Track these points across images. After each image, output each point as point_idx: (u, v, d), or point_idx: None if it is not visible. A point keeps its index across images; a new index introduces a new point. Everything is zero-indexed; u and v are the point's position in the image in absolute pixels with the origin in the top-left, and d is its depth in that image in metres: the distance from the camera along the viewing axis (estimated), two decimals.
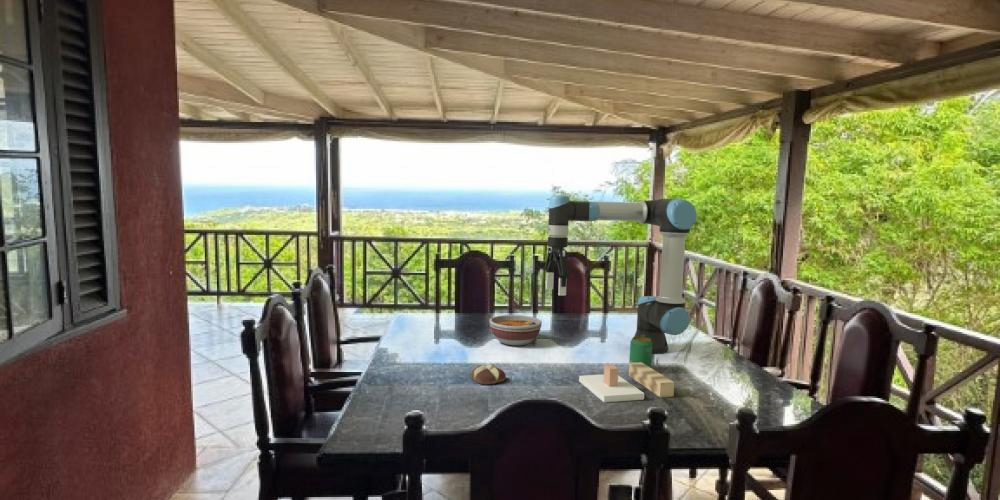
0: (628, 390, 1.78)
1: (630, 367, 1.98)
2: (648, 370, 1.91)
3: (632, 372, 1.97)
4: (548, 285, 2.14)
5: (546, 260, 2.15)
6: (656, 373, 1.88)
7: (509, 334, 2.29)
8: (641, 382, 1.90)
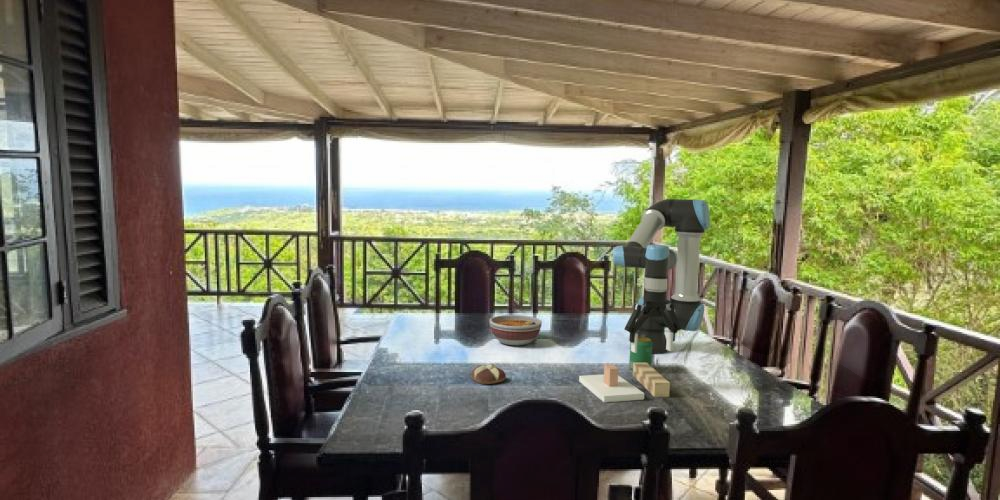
0: (628, 390, 1.78)
1: (634, 367, 1.99)
2: (648, 370, 1.91)
3: (635, 372, 1.97)
4: (667, 345, 1.90)
5: None
6: (656, 373, 1.88)
7: (509, 334, 2.29)
8: (641, 382, 1.91)
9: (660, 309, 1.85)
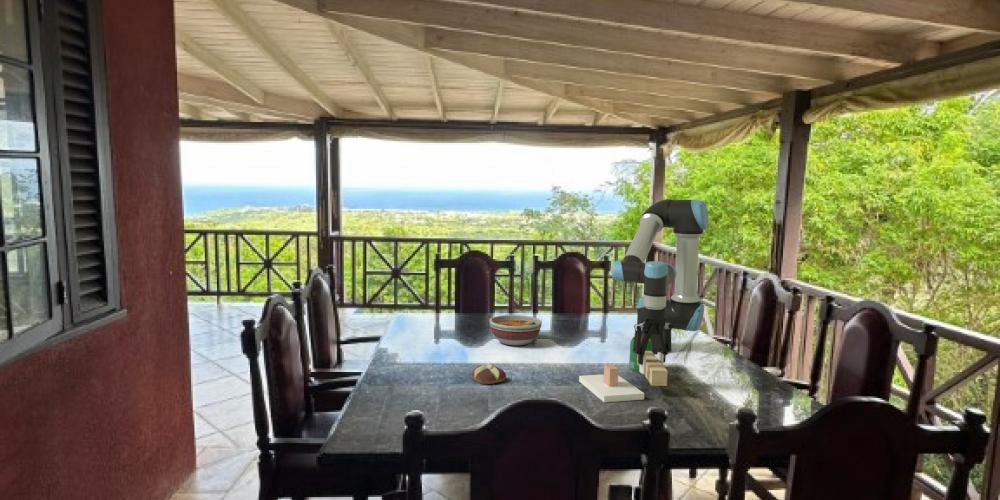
0: (628, 390, 1.78)
1: None
2: (650, 358, 1.91)
3: None
4: None
5: None
6: (656, 361, 1.88)
7: (509, 334, 2.29)
8: None
9: (659, 326, 1.86)
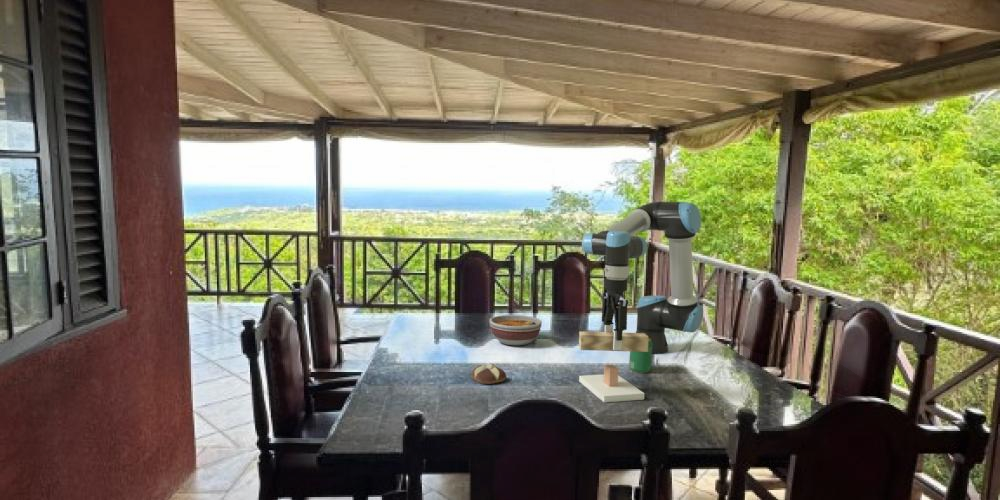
0: (628, 390, 1.78)
1: (584, 339, 1.80)
2: (607, 333, 1.82)
3: (589, 343, 1.80)
4: None
5: (602, 309, 1.87)
6: None
7: (509, 334, 2.29)
8: (610, 347, 1.80)
9: None
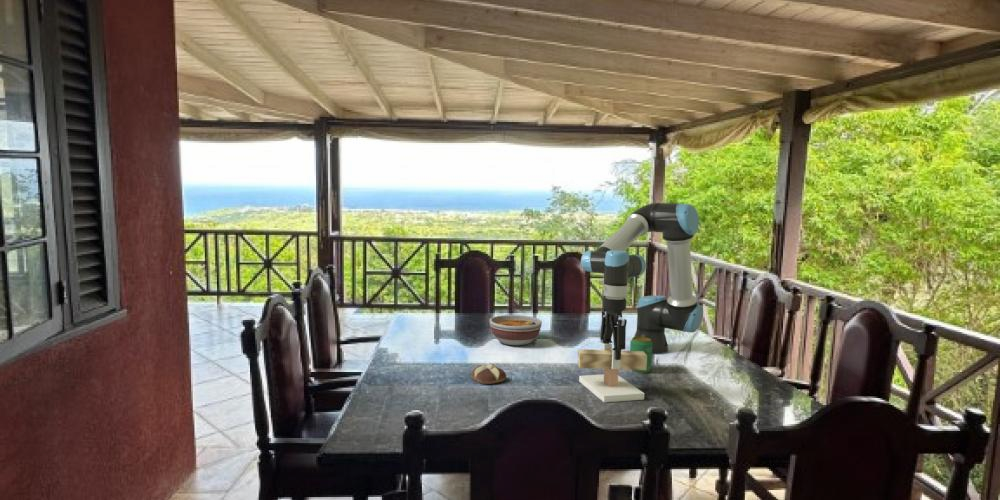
0: (628, 390, 1.78)
1: (583, 357, 1.80)
2: (606, 352, 1.82)
3: (588, 361, 1.80)
4: None
5: (601, 327, 1.87)
6: None
7: (509, 334, 2.30)
8: (608, 366, 1.80)
9: None
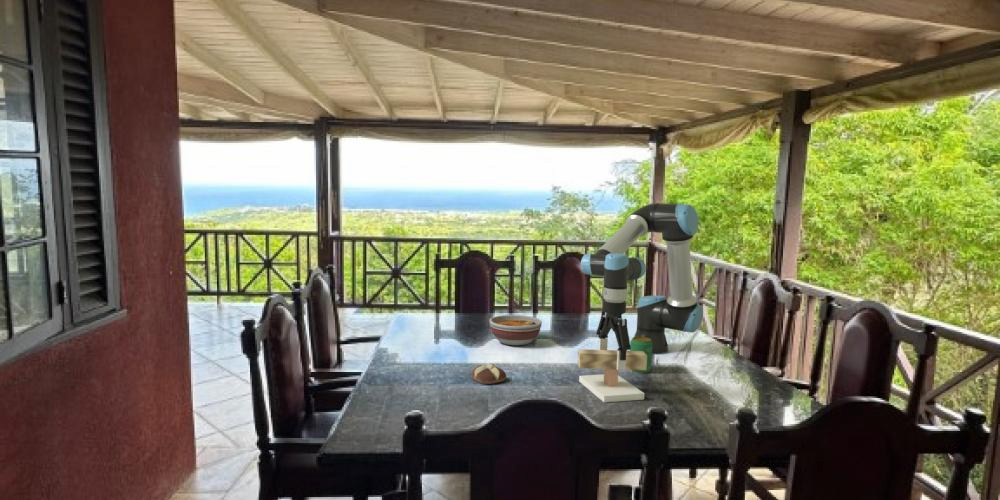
0: (628, 390, 1.78)
1: (583, 357, 1.80)
2: (606, 352, 1.82)
3: (588, 361, 1.80)
4: None
5: (599, 324, 1.89)
6: (616, 351, 1.84)
7: (509, 334, 2.30)
8: (608, 366, 1.80)
9: None
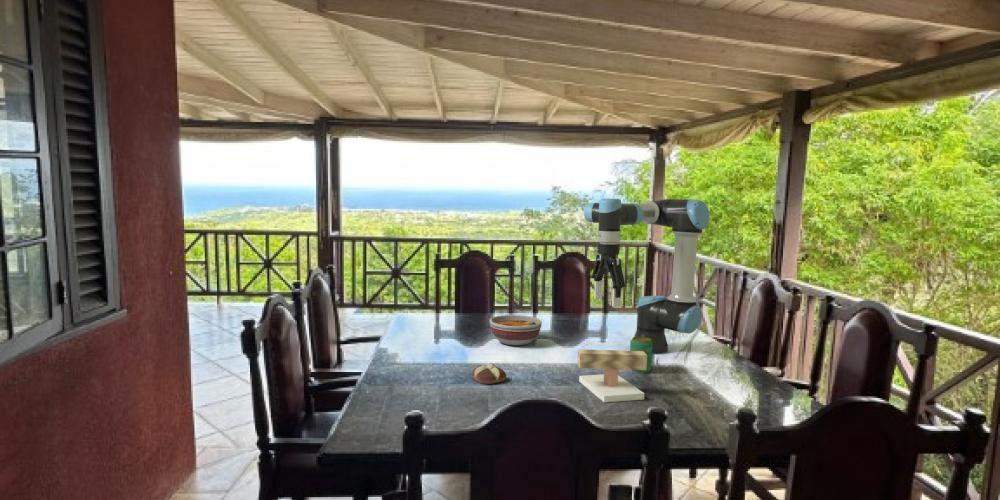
0: (628, 390, 1.78)
1: (583, 357, 1.80)
2: (606, 352, 1.82)
3: (588, 361, 1.80)
4: (597, 295, 1.99)
5: (594, 268, 1.99)
6: (616, 351, 1.84)
7: (509, 334, 2.29)
8: (608, 366, 1.80)
9: None
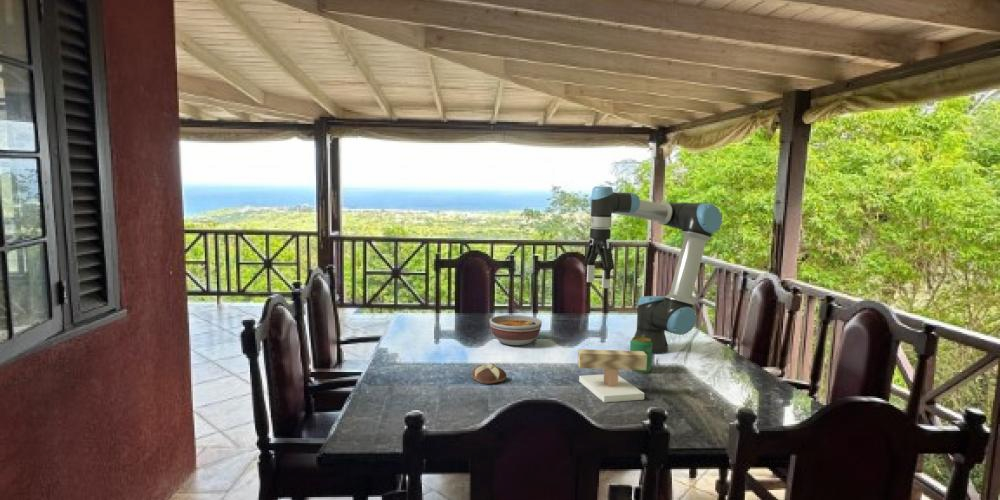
0: (628, 390, 1.78)
1: (583, 357, 1.80)
2: (606, 352, 1.82)
3: (588, 361, 1.80)
4: (589, 278, 2.11)
5: (587, 252, 2.12)
6: (616, 351, 1.84)
7: (509, 334, 2.30)
8: (608, 366, 1.80)
9: None
